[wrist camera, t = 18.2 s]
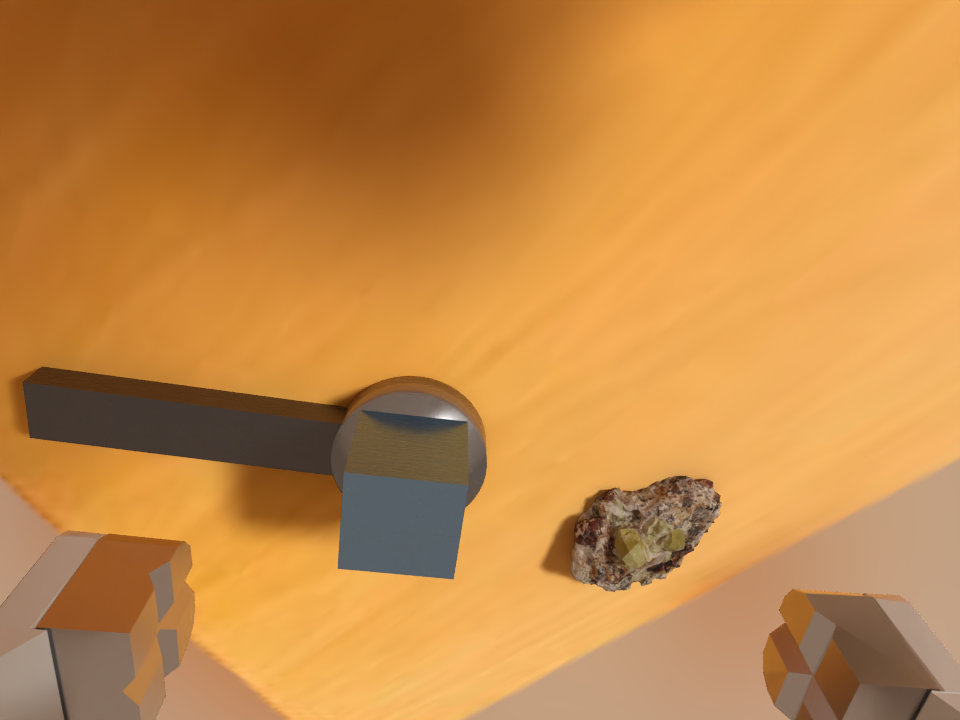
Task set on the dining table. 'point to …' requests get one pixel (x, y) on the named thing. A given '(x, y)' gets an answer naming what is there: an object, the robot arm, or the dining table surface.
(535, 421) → the dining table surface
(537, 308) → the dining table surface
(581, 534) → the mineral rock
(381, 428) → the slate grey cube
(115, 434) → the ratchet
